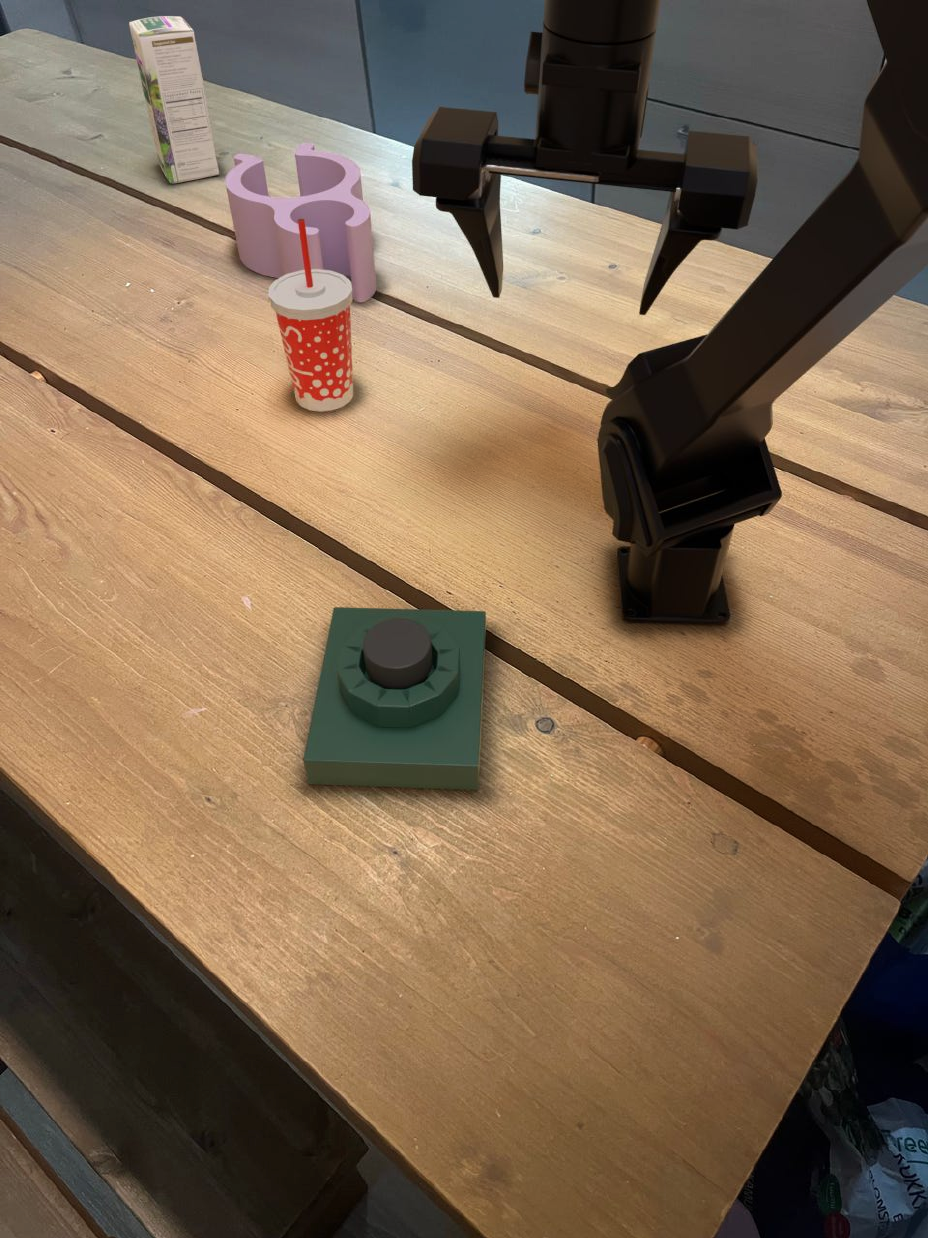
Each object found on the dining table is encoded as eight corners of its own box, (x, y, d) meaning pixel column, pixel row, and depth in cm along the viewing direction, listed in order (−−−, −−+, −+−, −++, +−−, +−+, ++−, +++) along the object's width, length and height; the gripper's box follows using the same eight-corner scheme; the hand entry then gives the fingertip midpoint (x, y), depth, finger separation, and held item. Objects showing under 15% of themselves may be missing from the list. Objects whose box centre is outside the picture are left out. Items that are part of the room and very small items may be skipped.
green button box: (478, 790, 50) (478, 745, 47) (308, 784, 50) (297, 739, 47) (485, 636, 57) (485, 588, 55) (337, 632, 58) (330, 584, 55)
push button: (429, 691, 50) (428, 669, 49) (361, 689, 50) (358, 667, 49) (434, 640, 52) (433, 618, 51) (369, 638, 53) (367, 616, 51)
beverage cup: (278, 382, 77) (248, 209, 67) (351, 367, 78) (332, 195, 68) (295, 423, 73) (266, 246, 63) (372, 407, 74) (356, 231, 64)
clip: (408, 292, 87) (404, 216, 82) (276, 321, 84) (263, 244, 79) (340, 207, 100) (333, 137, 95) (223, 229, 96) (209, 158, 91)
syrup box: (158, 166, 108) (124, 19, 97) (209, 157, 109) (181, 12, 99) (170, 185, 104) (135, 34, 94) (222, 175, 106) (194, 26, 95)
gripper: (784, -13, 52) (721, 255, 64) (450, -39, 54) (450, 225, 66) (789, 63, 45) (718, 348, 57) (405, 29, 47) (413, 311, 59)
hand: (569, 302), depth 60 cm, fingers open, 9 cm apart
